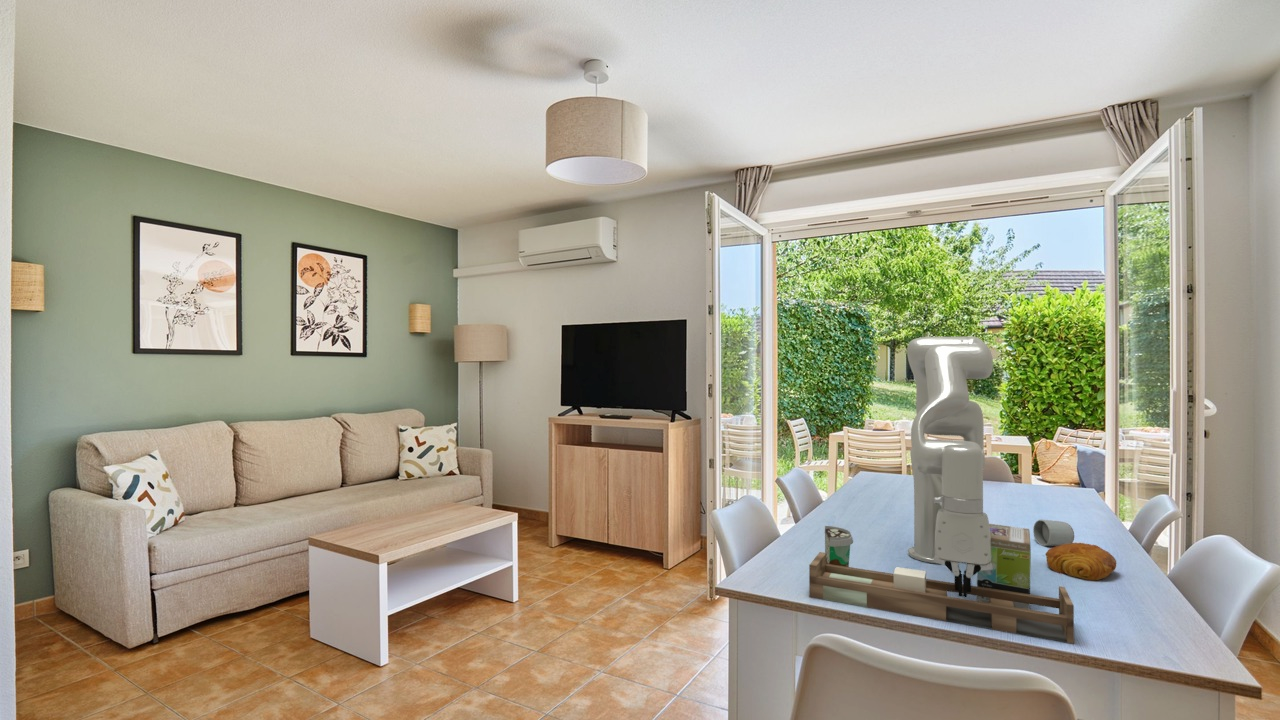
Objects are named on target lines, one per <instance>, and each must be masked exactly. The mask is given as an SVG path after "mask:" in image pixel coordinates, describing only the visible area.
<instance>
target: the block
mask: <svg viewBox="0 0 1280 720" xmlns="http://www.w3.org/2000/svg"><path fill="white" fill-rule="evenodd" d="M893 571H894V572H893V574H894V588H899V589H905V590H911V591H917V592H924V593H926V579H927V571H925V570H921V569H913V568H906V567H905V568H904V567H899V566H896V567H895V569H894V570H893Z"/></svg>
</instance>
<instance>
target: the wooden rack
mask: <svg viewBox="0 0 1280 720" xmlns="http://www.w3.org/2000/svg"><path fill="white" fill-rule="evenodd" d="M808 569H809V571H808V572H809V573H808V574H809V575H808V579H809V580H808V582H809V585H808V586H809V587H808V589H809V592H808V593H809V595H808V596H809V597H808V598H813V599H818V600H824V601H825V600H826V601H832V602H836V603H842V604H848V605H854V606H858V607H863V608H869V609H870V608H871V609H874V610H875V609H876V610H882V611H887V612H891V613H892V612H893V613H898V614H904V615H910V616H915V617H920V618H926V619H932V620H938V621H944V622H949V623H955V624H960V625H966V626H971V627H977V628H983V629H988V630H994V631H1001V632H1005V633H1009V634H1010V633H1011V634H1015V635H1022V636H1026V637H1033V638H1039V639H1043V640H1044V639H1045V640H1049V641H1053V642H1054V641H1055V642H1060V643H1061V642H1062V643H1066V644H1072V645H1074V644H1075V623H1074V622H1075V621H1074V620H1075V618H1074V617H1075V616H1074V615H1075V614H1074V613H1075V609H1074V608H1075V607H1074V604H1073V601H1072V599H1071V597H1070V594H1069V593H1068V591H1067V589H1066V587H1065V586H1060V585H1058V598H1057V597H1050V596H1043V595H1036V594H1031V593H1030V594H1024V593H1018V592H1011V591H1004V590H998V589H991V588H984V587H978V586H977V585H971V593H970V592H967V595H970V596H976V597H977V596H982V597H988V598H990V603H986V602H980V601H977V600H973V599H967V598H960V597H954V596H948V592H949V593H950V592H952V593H957V594H958V591H957V590H955V582H950V581H944V580H938V579H930V578H926V593H924V592H917V591H911V590H905V589H899V588H894V573H890V572H884V571H876V570H870V569H863V568H857V567H852V566H851V567H850V566H849V567H845V566H838V565H832V564H826V553H825V552H821V551H820V552H819V553H818V554H817V555H815V558H814V559H813V560H812V561H811V562H810V564H809V567H808ZM962 594H963V583H962ZM1013 601H1014V602H1020V603H1026V604H1030V605H1034V606H1041V607H1047V608H1051V609H1052V608H1053V609H1058V613H1053V612H1047V611H1041V610H1035V609H1030V610H1029V609H1023V608H1017V607H1014V605H1013Z"/></svg>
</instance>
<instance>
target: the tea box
mask: <svg viewBox="0 0 1280 720" xmlns="http://www.w3.org/2000/svg"><path fill="white" fill-rule="evenodd" d="M989 526H990V537H991V562H992V566H993V569H992V570H983V571H982V570H981V571H979V572H977V573H976V574H977V575H976V586H978V587H984V588H991V589H998V590H1004V591H1011V592H1018V593H1024V594H1031V567H1032V565H1031V563H1032V562H1031V560H1032V559H1031V557H1032V556H1031V555H1032V554H1031V553H1032V551H1031V550H1032V549H1031V533H1030V529H1029V528H1025V527H1018V526H1009V525H1001V524H995V523H989ZM976 601H980V602H986V603H990V598H988V597H982V596H976ZM1013 605H1014V607H1017V608H1023V609H1029V610H1031V609H1030V606H1031V604H1026V603H1020V602H1014V601H1013Z"/></svg>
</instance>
